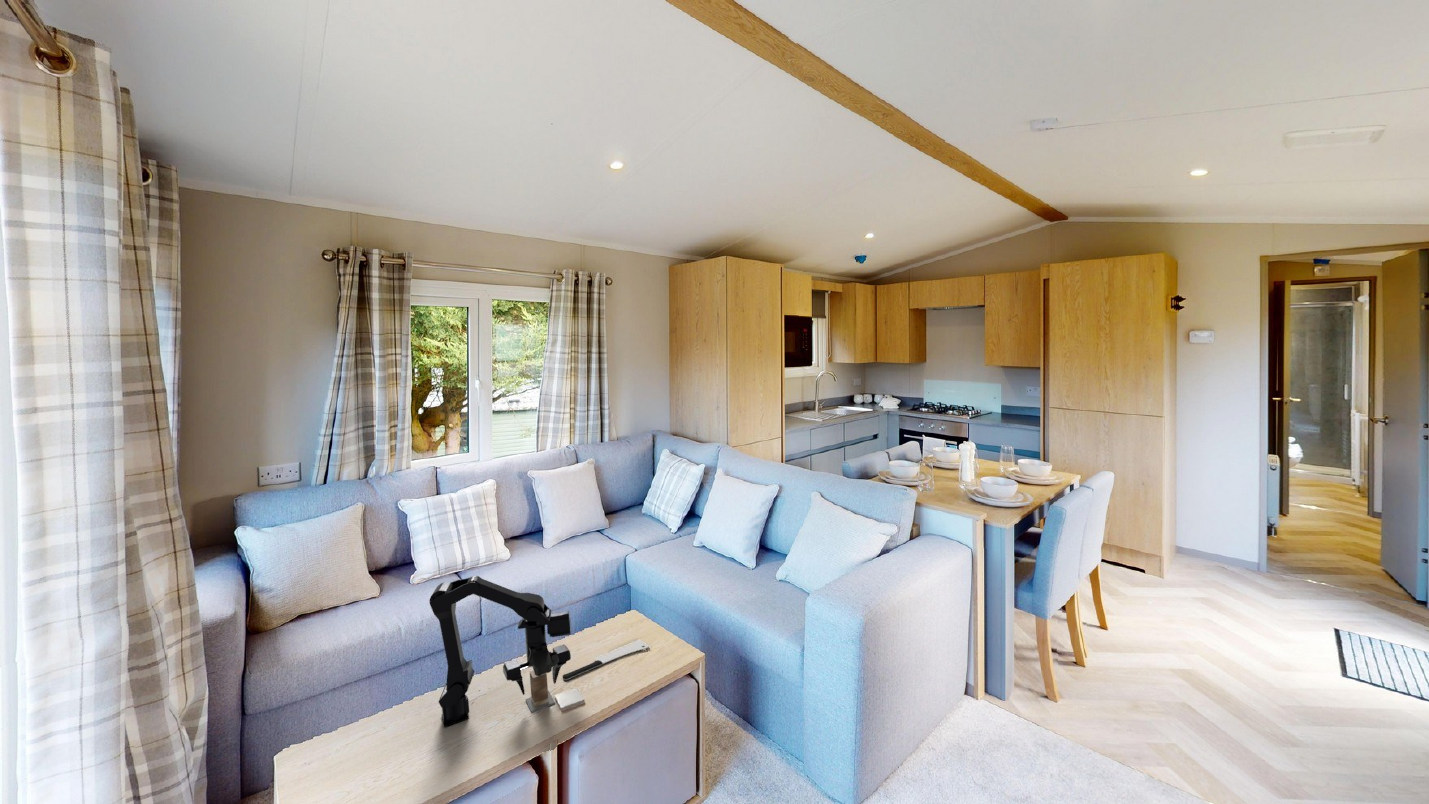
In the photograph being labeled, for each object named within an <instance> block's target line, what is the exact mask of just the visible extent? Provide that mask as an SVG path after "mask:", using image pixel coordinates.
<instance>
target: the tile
mask: <svg viewBox="0 0 1429 804" xmlns="http://www.w3.org/2000/svg"><path fill="white" fill-rule="evenodd" d="M554 701H556V702H555V703H556V704H557V706H558V708H559V710H560V712H563V711H566V710H568V709H571V708H574V707H577V706H580V705H583V704H585V702H586V701H585V698H584V696H583V695H582V693H581V692H580V688H578V687H575V688H573V689H569V690H567V691H563V692H560V693H558V694H555V695H554Z"/></svg>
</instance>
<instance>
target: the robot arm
mask: <svg viewBox="0 0 1429 804" xmlns="http://www.w3.org/2000/svg"><path fill="white" fill-rule="evenodd" d="M473 595H474V596H477V597H480V598H483V599H485V600H488V601H490V602H492V603H496V604H497V605H501V606H503V607H506V608H509V609H511V610H512V611H514V612H515V614H517V615H518V616H519V617H521V620H519V621H518V625H517V629H518V630H521V629H522V630H523V629H524V633H525V634H524V636H525V648H526V649H525V650H526V655H525V656H526V661H523V662H519V661H518V659H513V660H510V661H508V662H504V664H503V666H502V672H503V674H504V677H505V679H506V681H509V682H510V681H511V682H516V684H517V685H518V687H519V689H520V692H521V694H522V695H523V696H525V687H524V682H523V676H522V671H524V670H527V669H529V668H532V669H533V670H534V673H535V675H536V676H540V675H542V674H545V673H548V674H549V673H551V672H552V673H551V674H552V682H553V684H554V685H555V684H556V683H557V679H558V676H559V673H560V670H561V668H562V667H563V666H564V665H566V664H567V662H568V661H571V658H572V657H571V656H572V655H571V650H570V649H569V648H568V647H567V645H566V644H560V645H558V646H554V647H552V651H550V650H549V648H548V644H547V635H549V638H550V637H551V638H557V637H562V636H569V635H572V624H571V620H572V619H571V618H570V617H571V616H570V611H569V610H566V611H562V612H557V613H552V609H551V608H550V607H549V606H547V605H546V603H545V600H544V598H543V597H542V596H541V595H539V594H535V593H531V592H520V591H516V590H512V589H509V588H507V587H504V586H502V585H499V584H497V583H494V582H491V581H489V580H486V579H484V578H482V577H480V576H479V575H473V576H470V577H468V578H460V579H457V580H453V581H451V582H448V581H446V582H441V583H440V584H438V585H437V586H436V588H435V589H434V591H433V592H432V594H431V596H430V598H429V606H430V608H431V611H432V612H433V615H434V616H435V617H436V619H438V621H439V627H440V632H441V636H442V643H443V648H444V653H445V657H446V664H447V672H446V673H447V674H446V682H445V685H444V687H443V690H442V692H441V695H440V697H439V699H438V704H439V705H440V707H441V720H442V725H443V728H446V727H450V726H453V725H455V724H458V723H461V722H464V721H467V720H468V719H469V718H470V717H469V713H470V703H469V702H470V701H469V697H468V695H466V693H467V692H468V690H469V687H470V685H471V683H472V680H473V677H474V675H475V670H474V669H473V660H472V659H470V660H466V659H465V657H464V653H463V647H462V641H461V636H460V631H459V626H458V621H457V615H456V611H457V610H456V608H457V603H458V602H460V601H462V600H464V599H465V598H467V597H470V596H473ZM546 628H547V630H546ZM546 631H547V635H546ZM533 670H532V671H533Z"/></svg>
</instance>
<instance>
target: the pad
mask: <svg viewBox="0 0 1429 804" xmlns="http://www.w3.org/2000/svg"><path fill="white" fill-rule="evenodd" d="M548 698H549V702H547V703H544V704H542V705H539V706H536V707H535V706H534V704H533V702H532V700H531V696H530V697H527V698H525V702H526V705H527V707H528V709H529V711H530V713H534V712H537V711H540V710H541V709H545V708H547V707H551V706H552V705H555V704H556V702H555V701H556V700H555V699H554V698H553V696H552V695H551V692H550V691H549V690H548Z"/></svg>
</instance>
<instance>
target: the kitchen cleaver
mask: <svg viewBox="0 0 1429 804" xmlns="http://www.w3.org/2000/svg"><path fill="white" fill-rule="evenodd" d="M649 647H650V646H649V644H647V643H646V642H644V641H643V640H641V639H636V640H634V641H632V642H630V643H627V644H625V645H622V646H620V647H618V648H616V649H612V650H610V651H608V652H606V653H604V654H601V655H598V656H596V657H594V658H593V662H592V663H590V664H587V665H584V666H582V667H580V668H577V669H574V670H573V671H569V672H567V673H564V674H562V680H563V681H565V682H567V681H570V680H572V679H574V678H577V677H579V676H581V675H584V674H586V673H588V672H590V671H592V670H595V669H597V668H599V667H601V666H603V665H604V664H606V663H609V662H611V661H613V660H617V659H618V658H621V657H623V656H626V655H629V654H632V653H635V652H638V651H642V650H646V649H649Z"/></svg>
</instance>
